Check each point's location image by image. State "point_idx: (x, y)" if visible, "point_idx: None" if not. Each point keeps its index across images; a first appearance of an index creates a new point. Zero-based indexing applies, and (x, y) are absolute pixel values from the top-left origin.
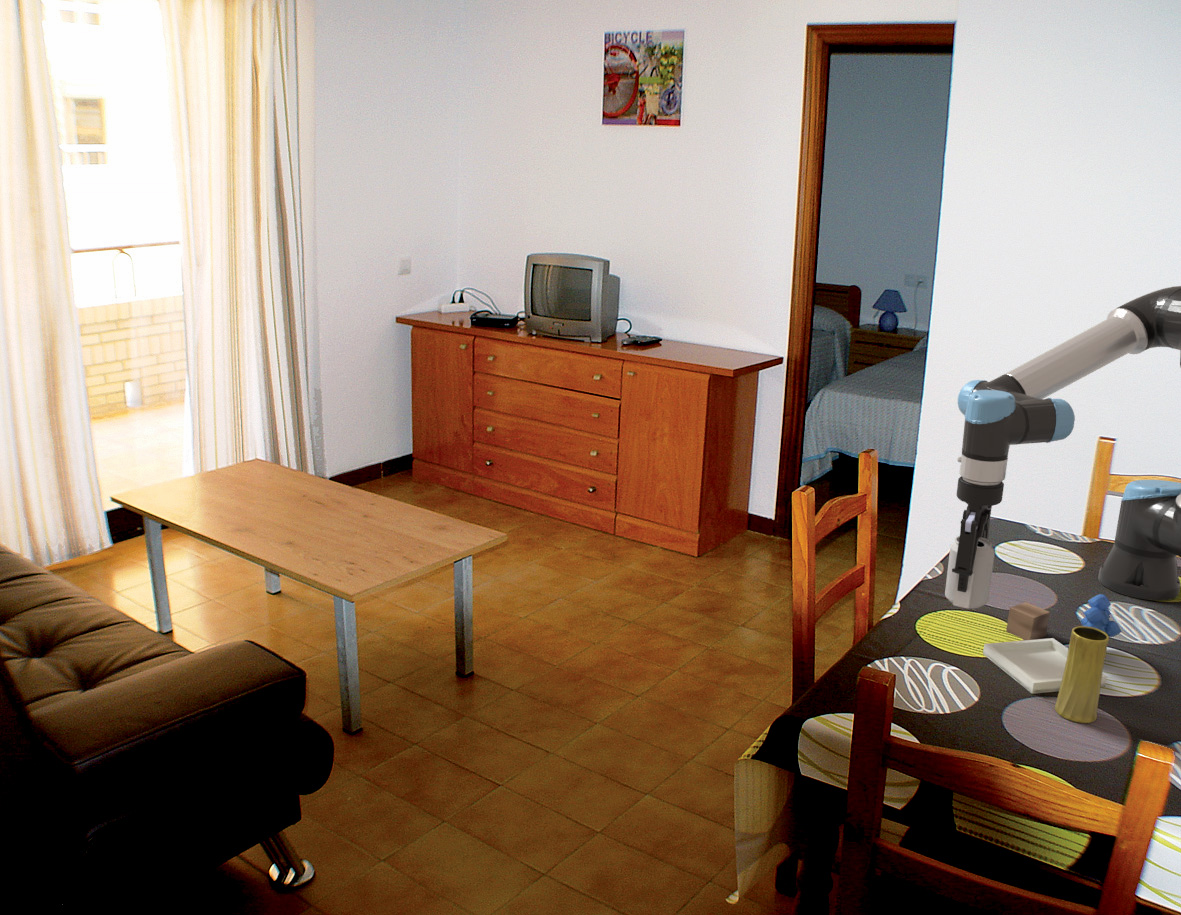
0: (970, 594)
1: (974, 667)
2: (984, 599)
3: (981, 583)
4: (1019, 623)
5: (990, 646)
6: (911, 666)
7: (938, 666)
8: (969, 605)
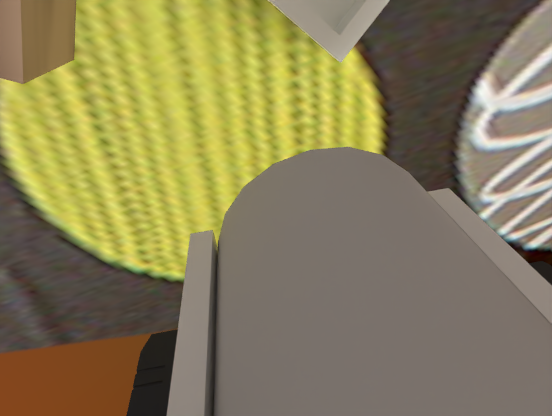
0: (487, 235)
1: (449, 38)
2: (379, 165)
3: (476, 251)
4: (48, 6)
5: (348, 34)
6: (527, 179)
7: (495, 128)
8: (434, 197)
